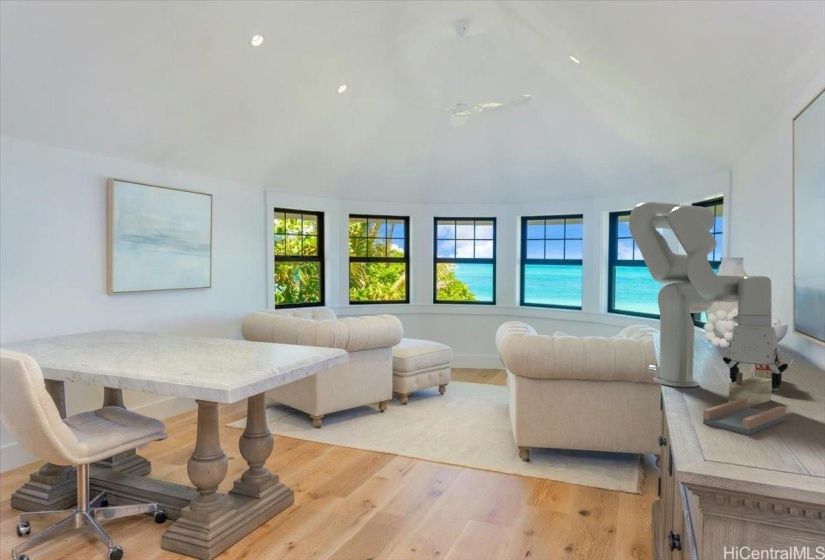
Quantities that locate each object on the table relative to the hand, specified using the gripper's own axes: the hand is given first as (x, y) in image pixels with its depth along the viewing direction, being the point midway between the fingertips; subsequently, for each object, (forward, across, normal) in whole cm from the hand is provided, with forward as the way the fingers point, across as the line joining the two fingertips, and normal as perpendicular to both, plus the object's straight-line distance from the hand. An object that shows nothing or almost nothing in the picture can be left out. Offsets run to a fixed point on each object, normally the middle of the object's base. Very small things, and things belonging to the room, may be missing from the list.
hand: (754, 384), depth 134 cm
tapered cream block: (+5, -1, 0) cm, 5 cm away
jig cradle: (+5, +6, -21) cm, 22 cm away
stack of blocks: (+5, -9, +31) cm, 33 cm away
